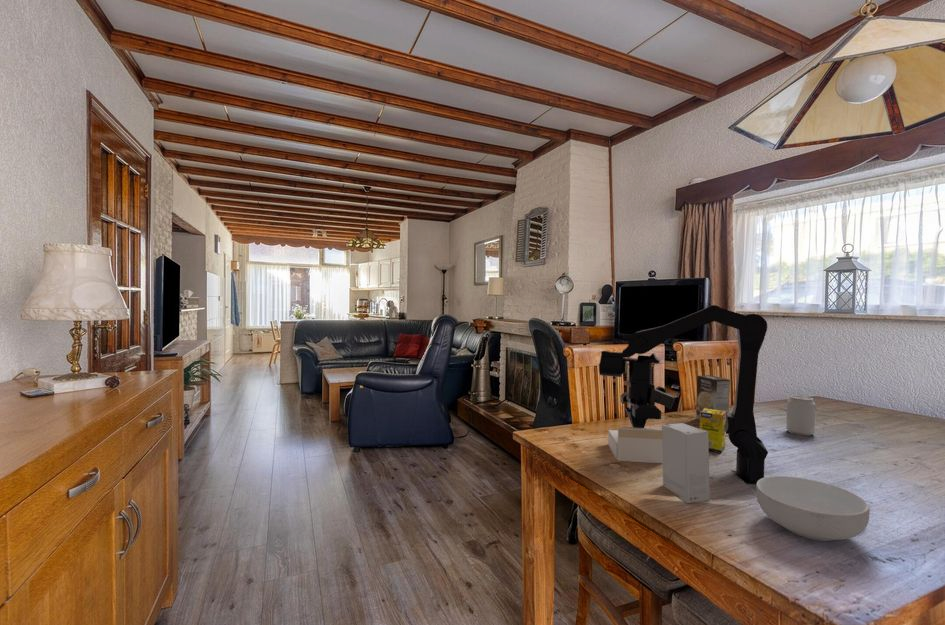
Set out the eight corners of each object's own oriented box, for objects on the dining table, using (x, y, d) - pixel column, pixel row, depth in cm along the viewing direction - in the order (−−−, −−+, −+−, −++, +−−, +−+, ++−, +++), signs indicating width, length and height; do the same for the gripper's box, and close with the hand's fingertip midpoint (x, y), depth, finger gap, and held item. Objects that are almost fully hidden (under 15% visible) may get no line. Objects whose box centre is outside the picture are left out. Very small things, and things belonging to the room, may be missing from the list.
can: (781, 429, 148) (782, 393, 148) (805, 430, 147) (806, 394, 147) (794, 435, 141) (795, 398, 141) (820, 437, 140) (821, 399, 140)
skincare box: (710, 502, 92) (712, 432, 92) (685, 504, 91) (687, 433, 91) (682, 485, 101) (684, 421, 100) (659, 487, 99) (661, 422, 99)
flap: (664, 465, 112) (665, 430, 112) (618, 462, 114) (618, 427, 113) (663, 464, 113) (664, 429, 113) (617, 461, 115) (618, 426, 114)
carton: (663, 464, 114) (664, 445, 113) (616, 461, 115) (616, 442, 115) (651, 449, 125) (651, 432, 125) (608, 446, 127) (608, 429, 127)
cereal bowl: (769, 501, 93) (771, 468, 93) (875, 533, 81) (876, 495, 81) (742, 527, 82) (743, 489, 82) (859, 568, 70) (860, 524, 70)
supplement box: (722, 453, 123) (723, 414, 123) (698, 449, 126) (699, 411, 126) (725, 448, 128) (726, 410, 127) (702, 443, 131) (703, 407, 131)
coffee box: (694, 419, 160) (695, 375, 159) (708, 418, 162) (710, 374, 161) (714, 426, 151) (716, 379, 151) (729, 424, 153) (731, 379, 152)
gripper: (684, 386, 106) (682, 450, 106) (661, 374, 124) (660, 428, 124) (636, 384, 107) (634, 447, 107) (620, 372, 126) (619, 426, 126)
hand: (638, 437), depth 116 cm, fingers closed
